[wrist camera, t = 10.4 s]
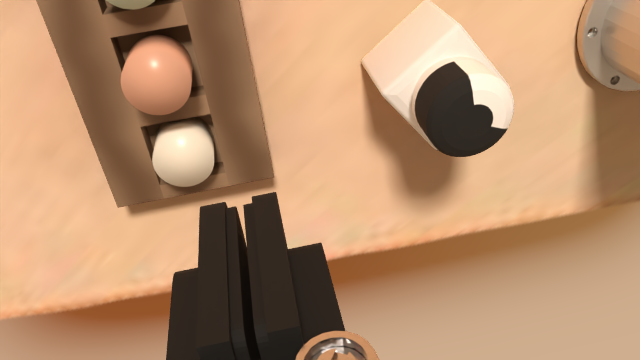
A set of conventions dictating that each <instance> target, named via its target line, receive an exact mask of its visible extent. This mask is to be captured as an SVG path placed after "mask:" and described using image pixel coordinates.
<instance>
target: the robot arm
mask: <svg viewBox="0 0 640 360" xmlns="http://www.w3.org/2000/svg"><path fill="white" fill-rule="evenodd" d="M577 48H578V52H579V57H580V60H581V62H582V64H583V66H584V68H585V70H586V71H587V72H588V73H589V74H590V76H591V77H592V78H594V79H595V80H597V81H598V82H599V83H601V84H602V85H604V86H606V87H608V88H610V89H614V90H619V91H638V90H640V0H587V2H586V4H585V6H584V9H583V12H582V15H581V18H580V21H579V27H578V33H577ZM244 218H245V229H246V241H247V246H246V242H245V238H244V234H243V230H242V226H241V222H240V218H239V214H238V211H237V208H236V207H231V208H227V205H226V203H225V202H222V203H217V204H212V205H207V206H202V207H200V220H199V256H198V268H194V269H189V270H184V271H179V272H175V273H174V276H173V283H172V296H171V308H170V319H169V331H168V343H167V355H166V360H379V358H378V356H377V354H376V352H375V350H374V349H373V347H372V346H371V345H370V343H369V342H368V341H367V340H365V339H364V338H362V337H361V336H359V335H358V334H354V333H351V332H348V331H345V328H344V325H343V321H342V317H341V314H340V310H339V306H338V302H337V299H336V295H335V291H334V287H333V284H332V280H331V276H330V273H329V269H328V265H327V261H326V257H325V254H324V250H323V247H322V244H321V243H317V244H312V245H307V246H302V247H297V248H292V249H288V248H287V243H286V239H285V234H284V229H283V224H282V219H281V214H280V209H279V204H278V199H277V194H276V192H273V193H268V194H263V195H258V196H253V197H252V203H251V204H246V205H244Z"/></svg>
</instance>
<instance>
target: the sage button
mask: <svg viewBox="0 0 640 360" xmlns="http://www.w3.org/2000/svg"><path fill="white" fill-rule="evenodd" d="M106 1H108V2H109V3H111V4H112V5H114V6H117V7H119V8H123V9H132V10H134V9H140V8H144V7H146V6H148V5H150V4H152V3H153V2H154V1H155V0H106Z"/></svg>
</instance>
